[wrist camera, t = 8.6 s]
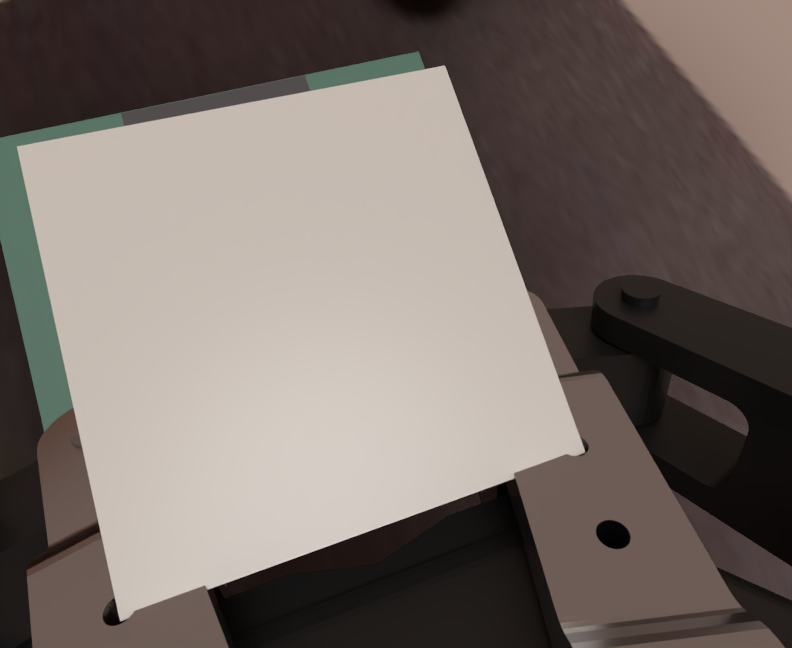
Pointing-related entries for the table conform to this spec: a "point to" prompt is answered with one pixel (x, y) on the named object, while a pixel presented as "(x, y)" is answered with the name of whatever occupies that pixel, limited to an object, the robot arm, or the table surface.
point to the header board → (3, 179)
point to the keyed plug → (286, 327)
